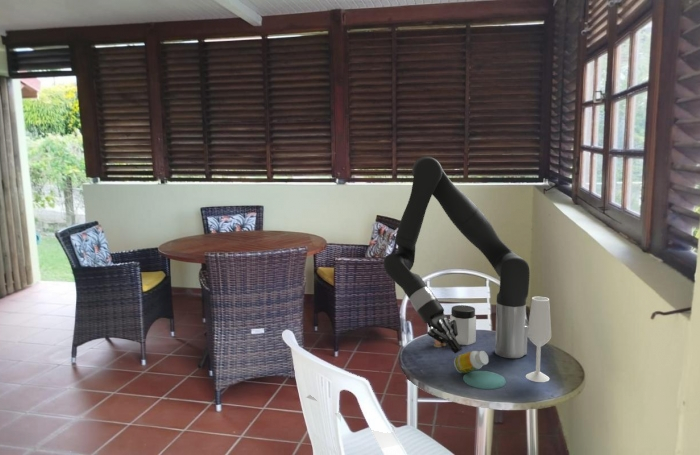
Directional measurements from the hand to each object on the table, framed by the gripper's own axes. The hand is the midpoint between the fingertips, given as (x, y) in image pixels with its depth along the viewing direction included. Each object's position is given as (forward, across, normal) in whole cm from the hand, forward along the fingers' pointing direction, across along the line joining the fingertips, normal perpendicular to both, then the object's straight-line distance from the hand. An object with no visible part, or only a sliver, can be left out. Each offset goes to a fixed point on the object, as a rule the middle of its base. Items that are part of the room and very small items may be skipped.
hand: (458, 351), depth 165 cm
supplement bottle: (+3, 0, +3) cm, 4 cm away
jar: (-5, +24, +15) cm, 28 cm away
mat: (+11, 0, -2) cm, 11 cm away
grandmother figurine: (-8, +14, +17) cm, 23 cm away
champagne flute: (+18, +13, -9) cm, 24 cm away
